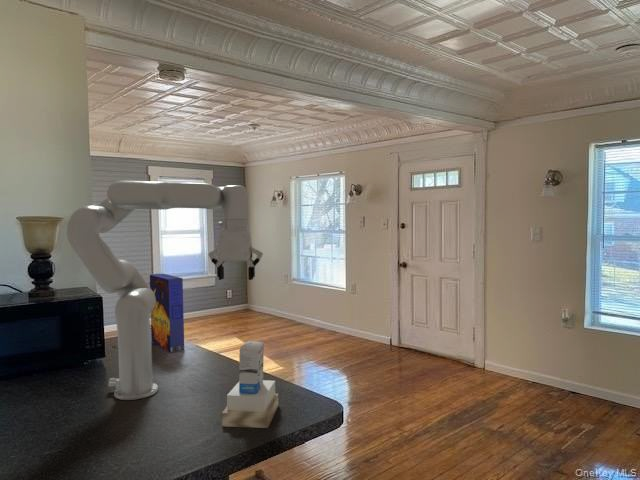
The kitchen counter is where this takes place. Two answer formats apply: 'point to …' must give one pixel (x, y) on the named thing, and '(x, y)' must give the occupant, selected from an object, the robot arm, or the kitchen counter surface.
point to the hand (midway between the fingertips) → (236, 279)
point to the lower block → (250, 416)
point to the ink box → (251, 367)
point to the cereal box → (167, 312)
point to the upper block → (251, 398)
